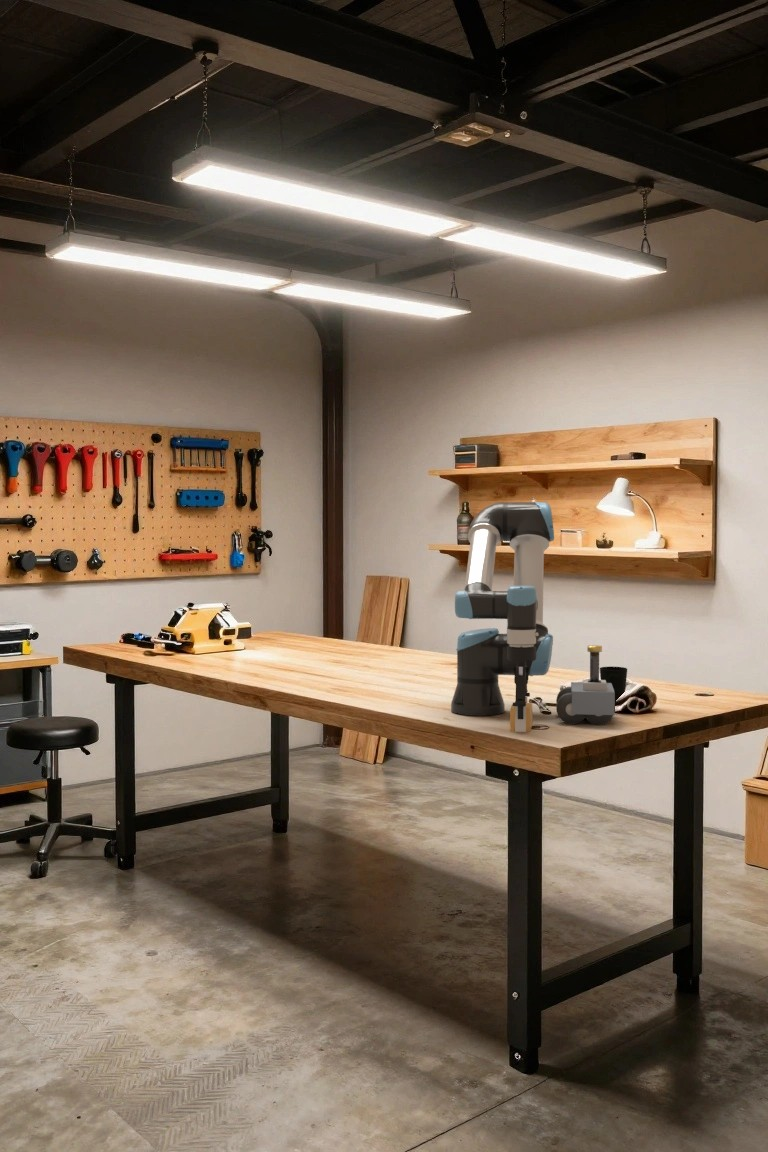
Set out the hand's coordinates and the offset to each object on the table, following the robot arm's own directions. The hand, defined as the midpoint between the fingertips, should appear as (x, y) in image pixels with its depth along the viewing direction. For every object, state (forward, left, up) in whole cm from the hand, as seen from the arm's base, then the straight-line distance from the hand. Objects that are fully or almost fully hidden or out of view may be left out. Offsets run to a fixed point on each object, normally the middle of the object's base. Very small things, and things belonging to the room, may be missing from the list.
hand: (521, 726), depth 268 cm
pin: (+19, +10, +9) cm, 23 cm away
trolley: (+16, +13, 0) cm, 21 cm away
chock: (0, 0, -1) cm, 1 cm away
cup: (+25, +29, -1) cm, 38 cm away
